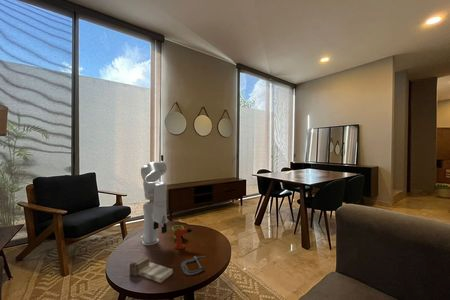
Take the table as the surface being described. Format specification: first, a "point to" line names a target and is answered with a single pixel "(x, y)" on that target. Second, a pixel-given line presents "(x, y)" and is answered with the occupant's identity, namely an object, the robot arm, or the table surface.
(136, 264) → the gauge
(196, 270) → the c clamp
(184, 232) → the toy drill
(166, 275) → the board
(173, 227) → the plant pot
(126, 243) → the table surface
